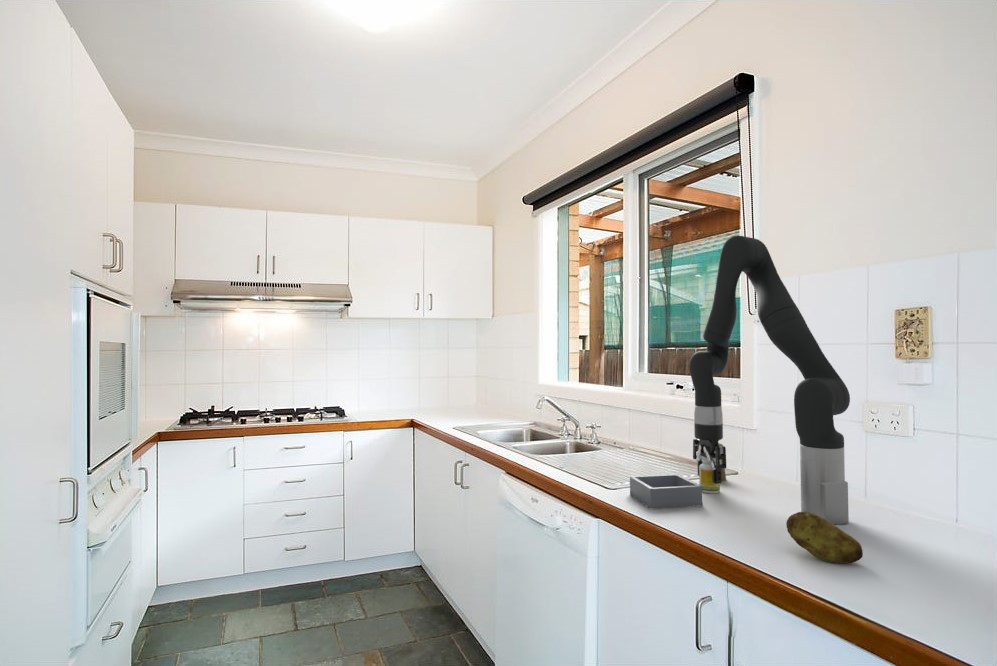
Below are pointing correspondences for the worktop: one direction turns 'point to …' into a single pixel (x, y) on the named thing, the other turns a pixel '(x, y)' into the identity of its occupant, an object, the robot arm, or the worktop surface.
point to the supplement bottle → (707, 477)
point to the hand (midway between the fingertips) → (709, 479)
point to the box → (666, 491)
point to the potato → (823, 538)
